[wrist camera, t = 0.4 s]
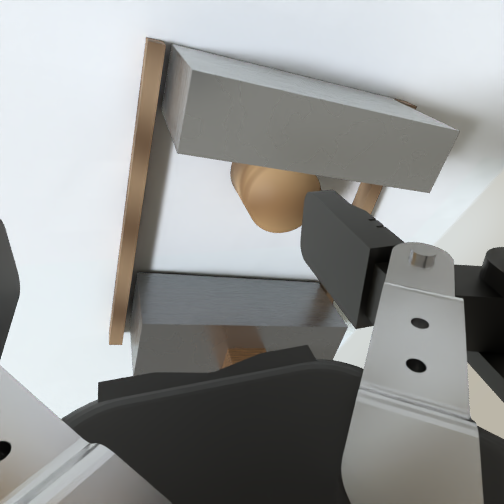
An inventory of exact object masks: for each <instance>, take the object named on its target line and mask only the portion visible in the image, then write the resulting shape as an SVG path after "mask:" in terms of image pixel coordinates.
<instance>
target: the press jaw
mask: <svg viewBox="0 0 504 504" xmlns="http://www.w3.org/2000/svg"><path fill="white" fill-rule="evenodd" d="M347 328H348V327H347V325H346V324H345V322H344V321H343V319H342V318H341V316H340V315H339V313H338V312H337V310H336V309H335V307H334V305H333V304H332V302H331V301H330V299H329V298H328V296H327V295H326V293H325V292H324V290H323V289H322V287H321V286H320V284H319V283H315V282H297V281H280V280H262V279H245V278H227V277H209V276H192V275H174V274H157V273H139V272H137V278H136V285H135V291H134V298H133V304H132V311H131V317H130V333H131V349H132V365H133V376H137V375H142V374H148V373H153V372H186V373H209V372H215V371H218V370H220V369H223V368H225V367H228V366H230V365H233V364H235V363H238V362H240V361H243V360H245V359H247V358H250V357H252V356H255V355H257V354H260V353H264V352H270V351H276V350H281V349H287V348H292V347H298V346H303V345H308V346H309V348H310V350H311V351H312V353H313V355H314V357H315V358H316V359H326V360H333V358H334V356H335V354H336V351H337V349H338V347H339V345H340V343H341V341H342V339H343V336H344V334H345V332H346V330H347Z"/></svg>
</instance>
